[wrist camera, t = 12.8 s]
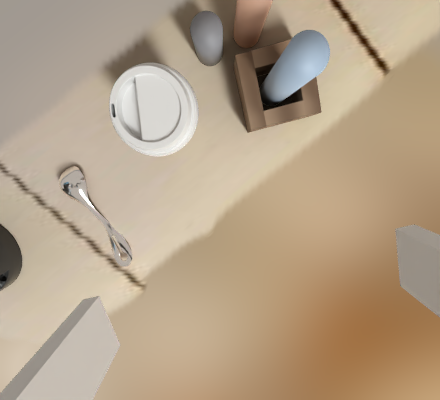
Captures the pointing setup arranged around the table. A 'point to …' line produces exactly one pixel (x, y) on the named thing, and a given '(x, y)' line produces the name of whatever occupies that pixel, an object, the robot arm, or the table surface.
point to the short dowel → (207, 37)
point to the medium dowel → (250, 21)
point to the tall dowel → (295, 66)
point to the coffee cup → (153, 109)
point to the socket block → (250, 95)
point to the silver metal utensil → (92, 210)
